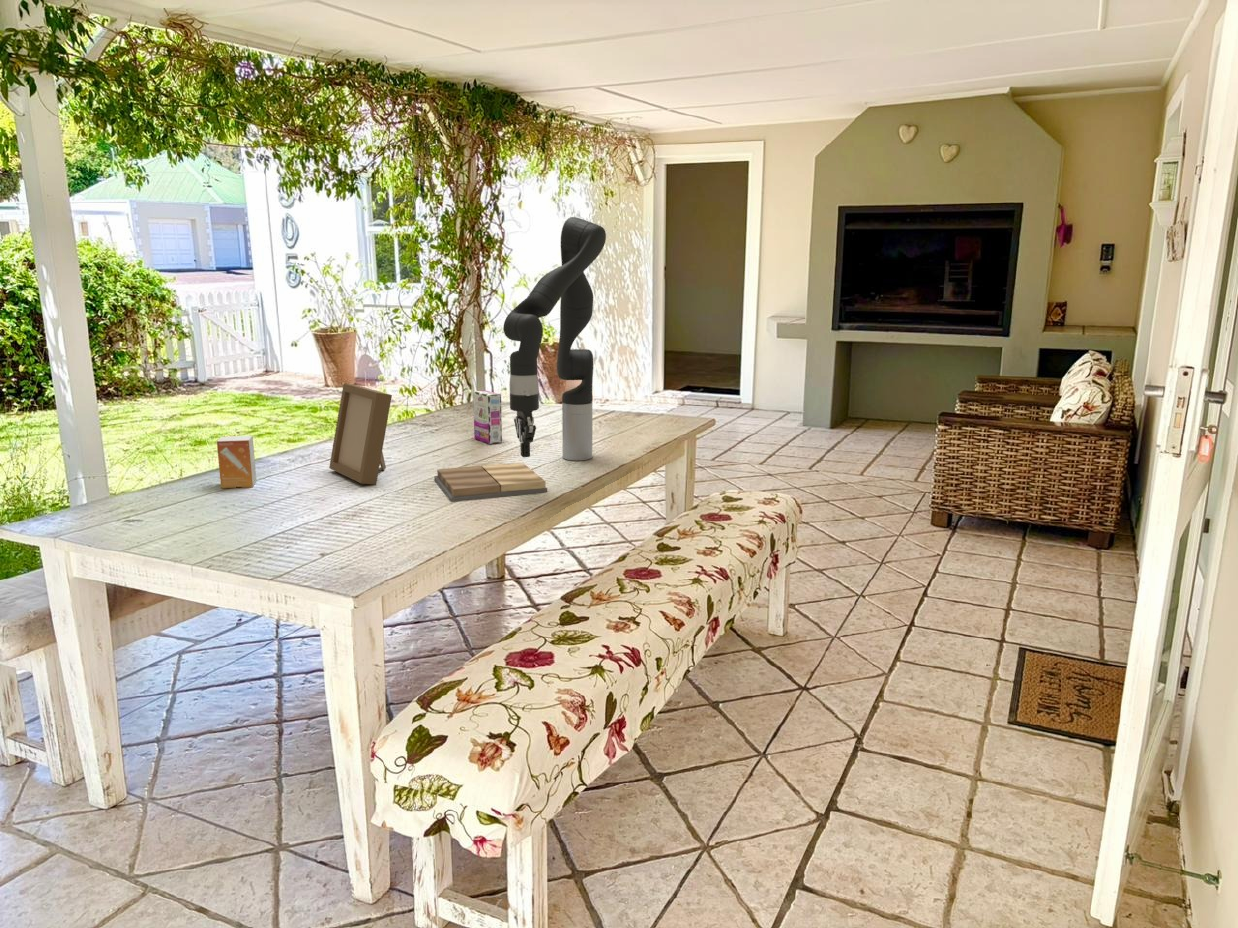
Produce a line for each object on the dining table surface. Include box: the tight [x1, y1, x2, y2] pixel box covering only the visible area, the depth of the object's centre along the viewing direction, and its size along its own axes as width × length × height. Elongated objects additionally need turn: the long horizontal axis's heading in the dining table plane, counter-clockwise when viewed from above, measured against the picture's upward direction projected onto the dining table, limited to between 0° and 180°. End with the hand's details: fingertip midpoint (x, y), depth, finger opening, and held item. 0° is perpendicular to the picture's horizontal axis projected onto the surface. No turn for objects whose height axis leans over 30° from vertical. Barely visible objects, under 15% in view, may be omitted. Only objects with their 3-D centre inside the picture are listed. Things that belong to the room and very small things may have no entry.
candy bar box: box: [472, 390, 503, 445], centre depth 288 cm, size 11×5×16 cm, turn 37°
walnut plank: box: [436, 465, 500, 497], centre depth 232 cm, size 22×12×2 cm, turn 22°
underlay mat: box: [433, 475, 548, 502], centre depth 235 cm, size 23×26×1 cm
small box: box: [216, 435, 257, 489], centre depth 232 cm, size 8×6×13 cm
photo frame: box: [329, 383, 393, 486], centre depth 242 cm, size 15×22×25 cm
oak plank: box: [480, 462, 547, 492], centre depth 237 cm, size 22×12×2 cm, turn 22°
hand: (525, 456), depth 229 cm, fingers closed
